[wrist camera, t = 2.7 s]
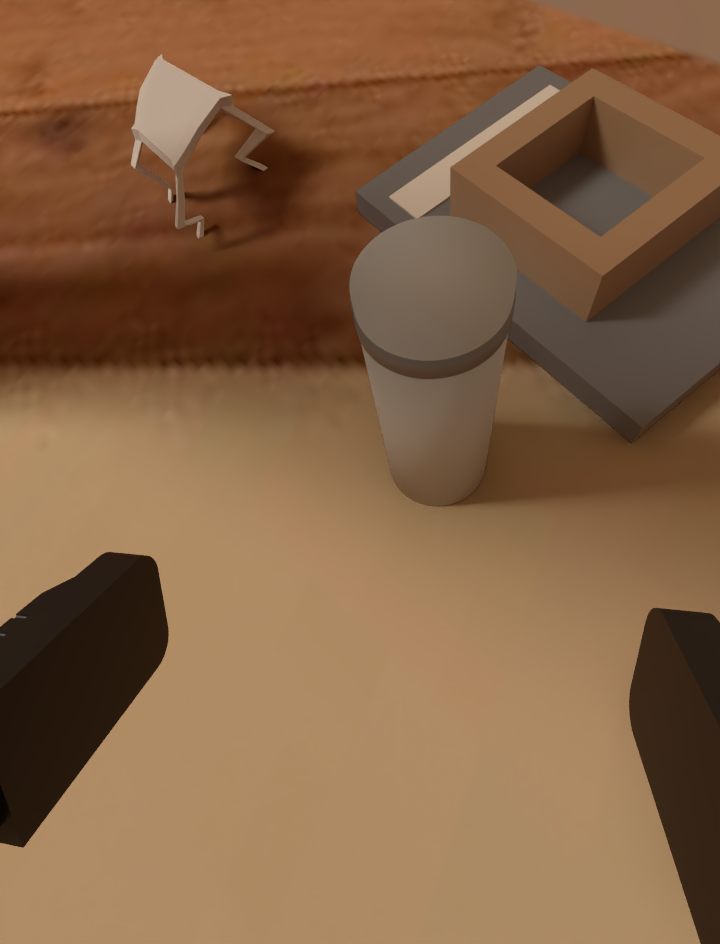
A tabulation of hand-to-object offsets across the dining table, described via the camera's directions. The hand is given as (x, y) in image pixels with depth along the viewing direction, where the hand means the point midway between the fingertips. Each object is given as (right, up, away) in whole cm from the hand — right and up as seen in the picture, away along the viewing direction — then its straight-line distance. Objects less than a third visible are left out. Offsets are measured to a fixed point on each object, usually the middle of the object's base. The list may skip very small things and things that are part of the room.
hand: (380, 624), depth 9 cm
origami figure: (-10, +22, +27) cm, 36 cm away
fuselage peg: (+3, +3, +16) cm, 17 cm away
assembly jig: (+11, +15, +20) cm, 28 cm away
